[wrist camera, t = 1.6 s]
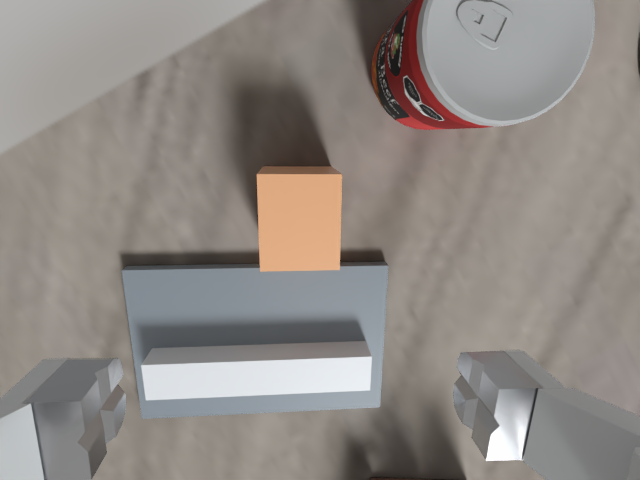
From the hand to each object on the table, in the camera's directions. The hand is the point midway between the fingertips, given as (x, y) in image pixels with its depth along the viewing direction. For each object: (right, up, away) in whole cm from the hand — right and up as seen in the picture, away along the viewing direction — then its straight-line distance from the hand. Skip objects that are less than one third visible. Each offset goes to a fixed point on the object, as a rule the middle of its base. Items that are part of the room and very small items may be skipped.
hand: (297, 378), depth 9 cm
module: (-1, +6, +20) cm, 20 cm away
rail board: (-4, -5, +22) cm, 23 cm away
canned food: (+8, +15, +18) cm, 25 cm away
